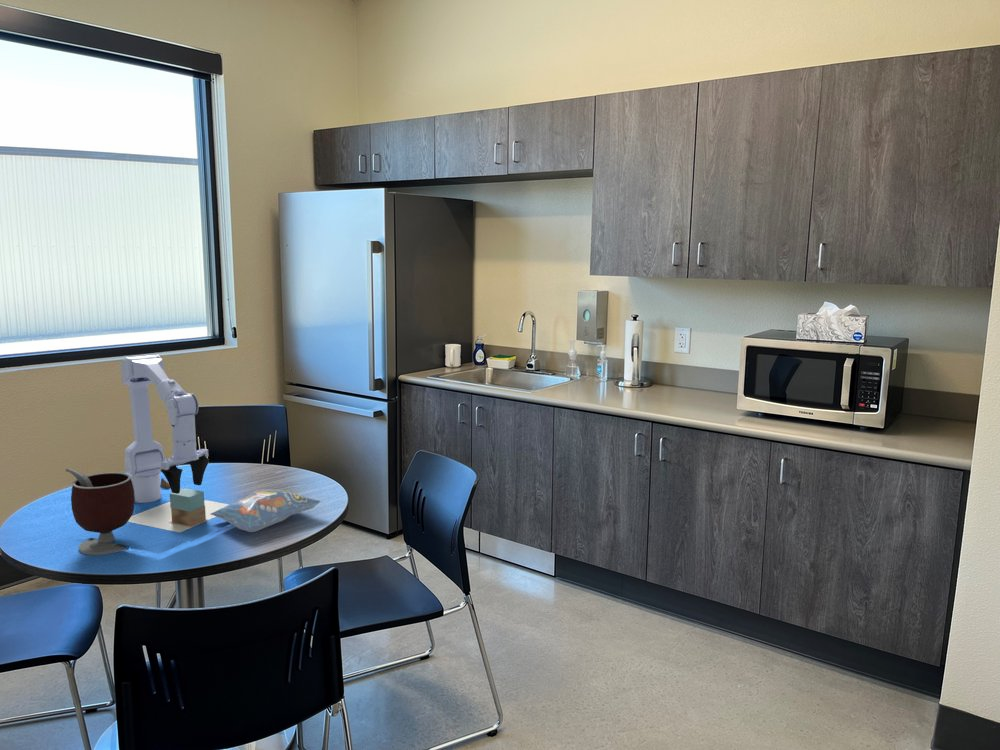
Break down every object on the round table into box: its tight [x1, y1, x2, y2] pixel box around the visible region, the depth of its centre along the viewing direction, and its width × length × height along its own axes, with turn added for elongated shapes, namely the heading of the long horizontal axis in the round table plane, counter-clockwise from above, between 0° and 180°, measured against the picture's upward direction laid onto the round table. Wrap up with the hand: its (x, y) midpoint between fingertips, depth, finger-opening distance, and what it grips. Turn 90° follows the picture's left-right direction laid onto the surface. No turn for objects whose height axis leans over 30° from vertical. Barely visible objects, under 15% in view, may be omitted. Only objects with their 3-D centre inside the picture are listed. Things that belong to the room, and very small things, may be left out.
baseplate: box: [127, 499, 230, 533], centre depth 203 cm, size 21×22×1 cm
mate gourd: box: [65, 467, 136, 556], centre depth 182 cm, size 16×14×20 cm
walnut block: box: [171, 506, 206, 526], centre depth 197 cm, size 7×5×4 cm
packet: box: [211, 489, 321, 533], centre depth 201 cm, size 17×24×8 cm
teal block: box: [169, 487, 205, 512], centre depth 196 cm, size 7×5×4 cm
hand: (186, 488), depth 196 cm, fingers open, 7 cm apart
